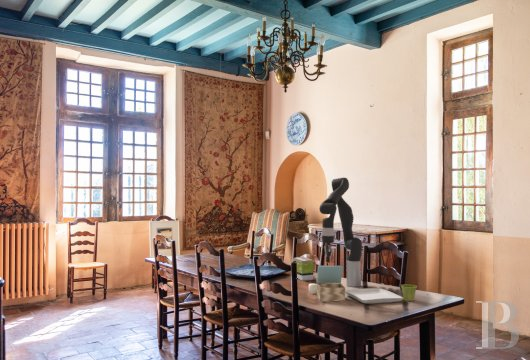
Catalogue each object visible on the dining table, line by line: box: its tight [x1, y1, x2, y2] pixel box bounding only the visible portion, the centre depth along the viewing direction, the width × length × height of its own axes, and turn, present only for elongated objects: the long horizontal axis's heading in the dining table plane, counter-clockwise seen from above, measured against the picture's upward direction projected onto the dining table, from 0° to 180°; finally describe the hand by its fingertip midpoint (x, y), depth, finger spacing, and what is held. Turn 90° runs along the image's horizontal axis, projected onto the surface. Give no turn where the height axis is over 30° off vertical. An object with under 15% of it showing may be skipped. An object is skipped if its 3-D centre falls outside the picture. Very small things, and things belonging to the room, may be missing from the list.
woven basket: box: [316, 282, 346, 303], centre depth 282 cm, size 15×13×8 cm
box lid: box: [316, 265, 344, 284], centre depth 286 cm, size 15×13×1 cm
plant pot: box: [400, 283, 418, 302], centre depth 279 cm, size 9×9×9 cm
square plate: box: [345, 287, 404, 305], centre depth 283 cm, size 27×27×4 cm
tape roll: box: [308, 283, 317, 295], centre depth 298 cm, size 6×6×6 cm
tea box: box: [292, 256, 314, 282], centre depth 346 cm, size 15×10×15 cm
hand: (327, 262), depth 292 cm, fingers closed
